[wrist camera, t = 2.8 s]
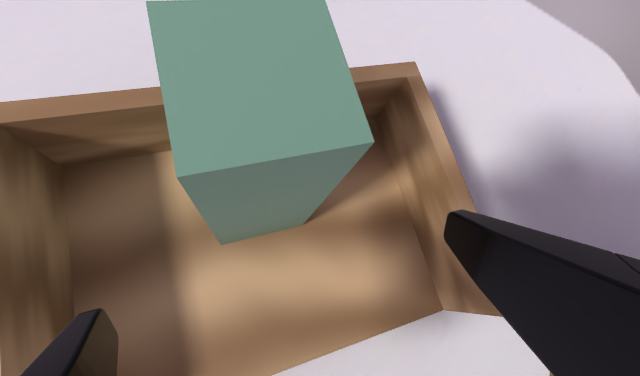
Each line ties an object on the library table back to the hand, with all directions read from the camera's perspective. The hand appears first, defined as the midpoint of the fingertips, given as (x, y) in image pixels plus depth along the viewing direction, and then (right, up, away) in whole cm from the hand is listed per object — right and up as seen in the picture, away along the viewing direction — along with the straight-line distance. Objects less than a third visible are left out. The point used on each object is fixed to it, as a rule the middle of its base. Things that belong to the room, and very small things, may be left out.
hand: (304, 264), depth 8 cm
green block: (-4, +1, +11) cm, 12 cm away
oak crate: (-3, -1, +12) cm, 12 cm away
